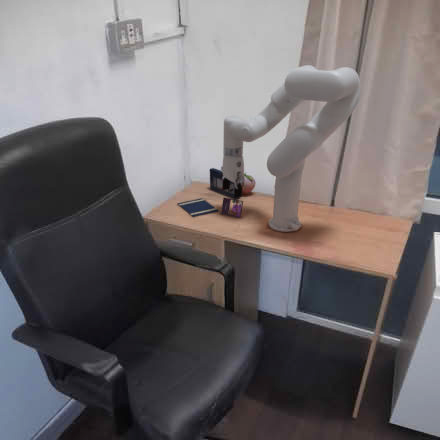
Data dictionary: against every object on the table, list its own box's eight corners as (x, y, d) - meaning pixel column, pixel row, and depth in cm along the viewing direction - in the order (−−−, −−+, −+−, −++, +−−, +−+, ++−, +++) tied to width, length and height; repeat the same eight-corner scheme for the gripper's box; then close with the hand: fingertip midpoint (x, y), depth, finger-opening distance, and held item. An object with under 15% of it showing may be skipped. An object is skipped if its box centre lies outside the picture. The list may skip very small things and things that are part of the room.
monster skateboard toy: (222, 197, 173) (242, 201, 169) (228, 197, 177) (247, 201, 174) (220, 213, 175) (239, 217, 171) (225, 213, 179) (244, 217, 176)
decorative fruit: (231, 194, 194) (231, 173, 188) (242, 189, 199) (242, 168, 193) (247, 199, 189) (248, 177, 183) (258, 193, 194) (259, 172, 188)
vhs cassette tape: (209, 189, 200) (209, 168, 194) (214, 187, 201) (214, 167, 196) (235, 200, 188) (235, 178, 182) (240, 198, 189) (240, 176, 184)
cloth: (218, 211, 178) (218, 210, 178) (193, 216, 173) (193, 216, 173) (201, 199, 189) (201, 198, 189) (177, 204, 185) (177, 203, 185)
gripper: (253, 155, 156) (250, 199, 166) (230, 144, 168) (229, 185, 178) (235, 158, 153) (234, 202, 163) (214, 146, 166) (213, 187, 175)
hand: (231, 193), depth 171 cm, fingers open, 9 cm apart
